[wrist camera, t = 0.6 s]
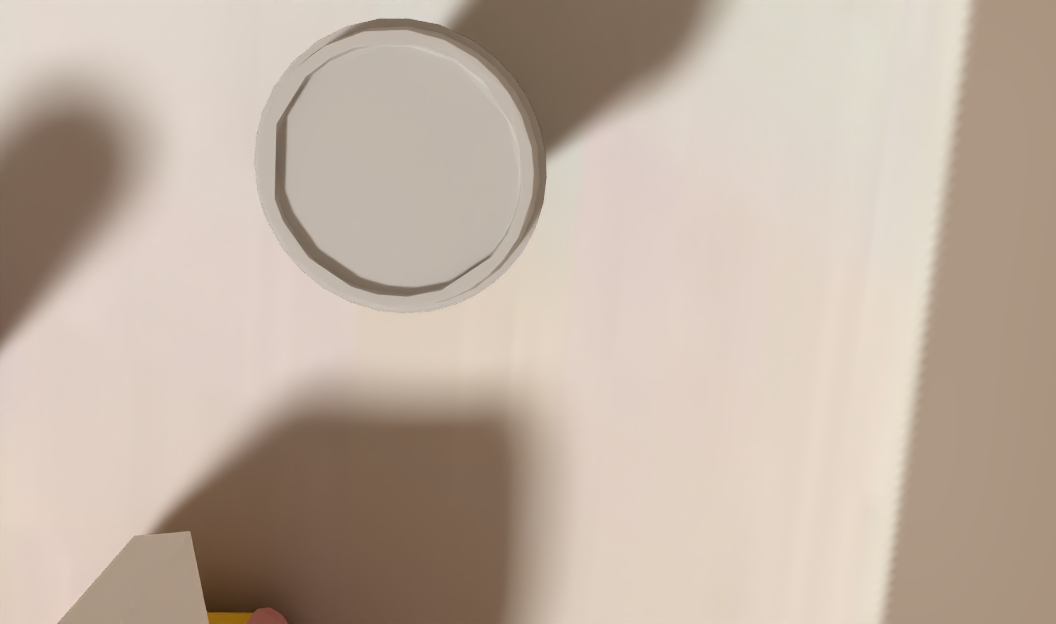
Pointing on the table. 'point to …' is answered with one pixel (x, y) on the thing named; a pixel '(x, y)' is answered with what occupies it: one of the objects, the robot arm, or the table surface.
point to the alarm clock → (247, 617)
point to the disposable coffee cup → (400, 165)
